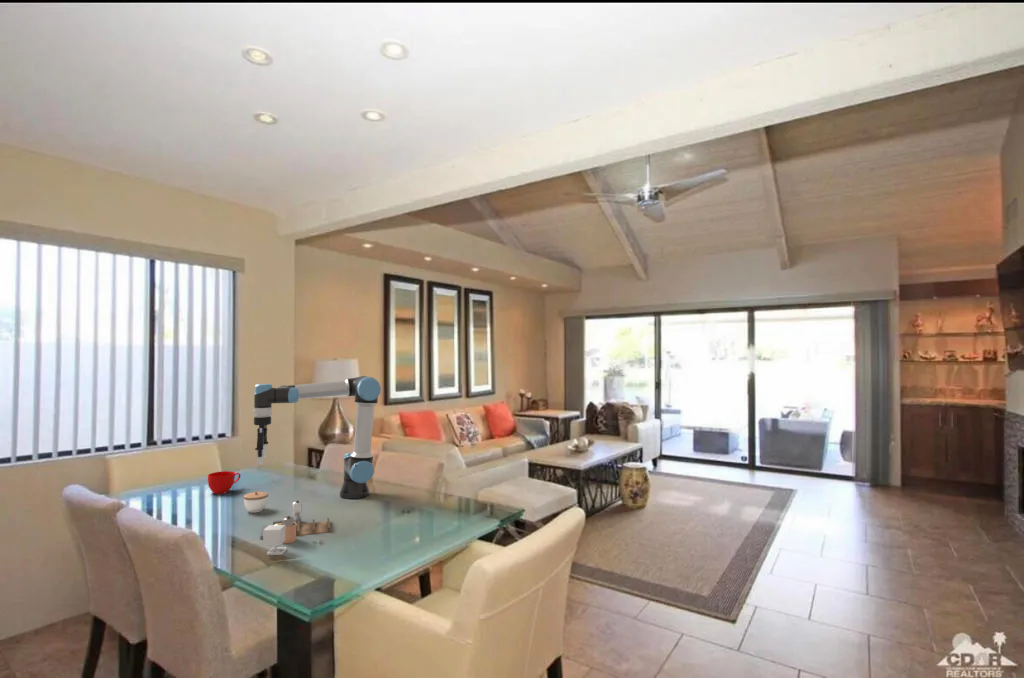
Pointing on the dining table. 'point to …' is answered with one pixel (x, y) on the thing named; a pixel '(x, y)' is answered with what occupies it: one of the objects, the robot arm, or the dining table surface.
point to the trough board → (313, 528)
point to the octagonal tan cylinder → (290, 533)
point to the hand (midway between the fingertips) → (261, 460)
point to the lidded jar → (255, 501)
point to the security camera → (274, 539)
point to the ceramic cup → (221, 481)
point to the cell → (297, 511)
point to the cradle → (268, 525)
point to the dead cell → (288, 521)
